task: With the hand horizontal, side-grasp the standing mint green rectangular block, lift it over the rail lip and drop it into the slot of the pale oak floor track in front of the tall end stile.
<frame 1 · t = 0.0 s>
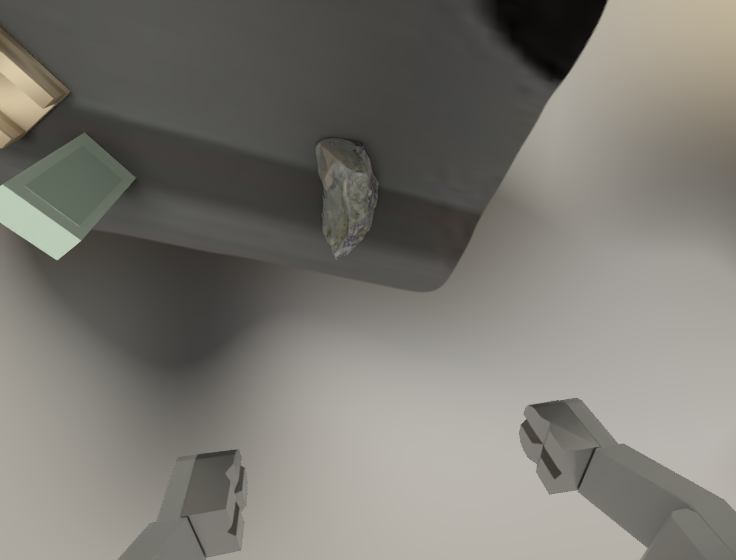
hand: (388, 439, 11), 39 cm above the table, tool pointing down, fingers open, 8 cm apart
mint green rectangular block: (101, 164, 41), on the table
mineral rock: (338, 190, 48), on the table
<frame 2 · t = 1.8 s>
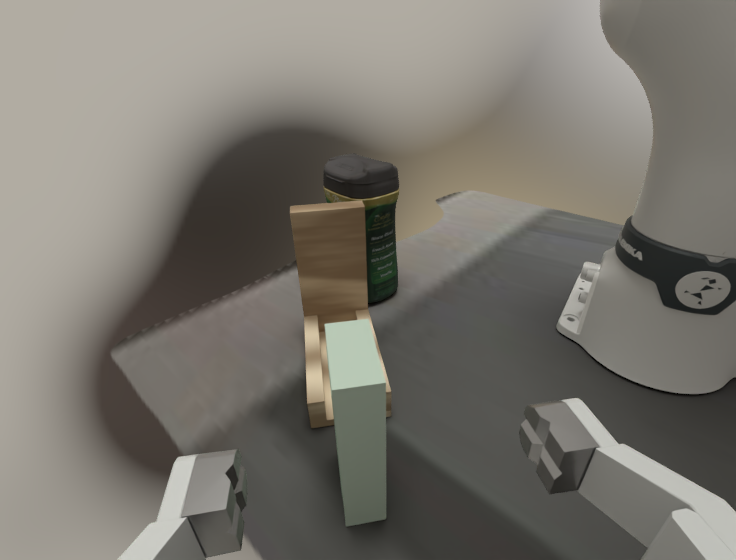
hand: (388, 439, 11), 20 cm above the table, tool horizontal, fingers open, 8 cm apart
mint green rectangular block: (360, 484, 31), on the table
track: (344, 376, 41), on the table
coffee jar: (364, 288, 56), on the table
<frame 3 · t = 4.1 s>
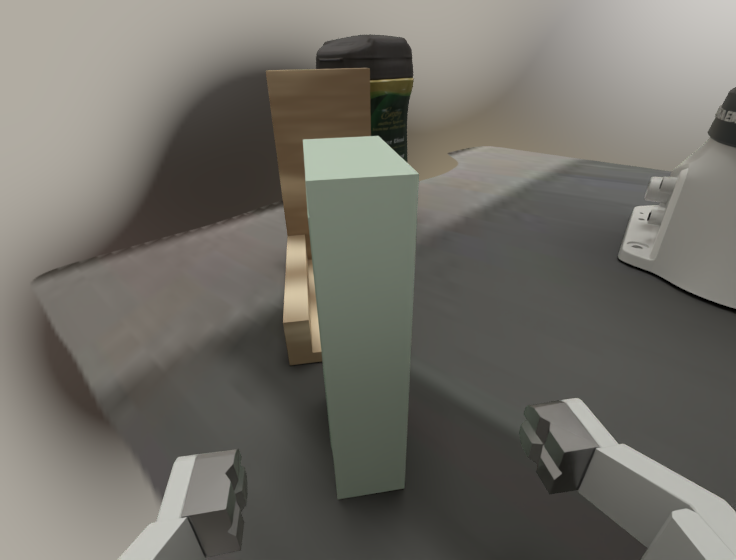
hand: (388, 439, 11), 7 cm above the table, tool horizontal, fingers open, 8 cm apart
mint green rectangular block: (361, 437, 20), on the table
track: (340, 306, 30), on the table
coffee jar: (367, 224, 45), on the table
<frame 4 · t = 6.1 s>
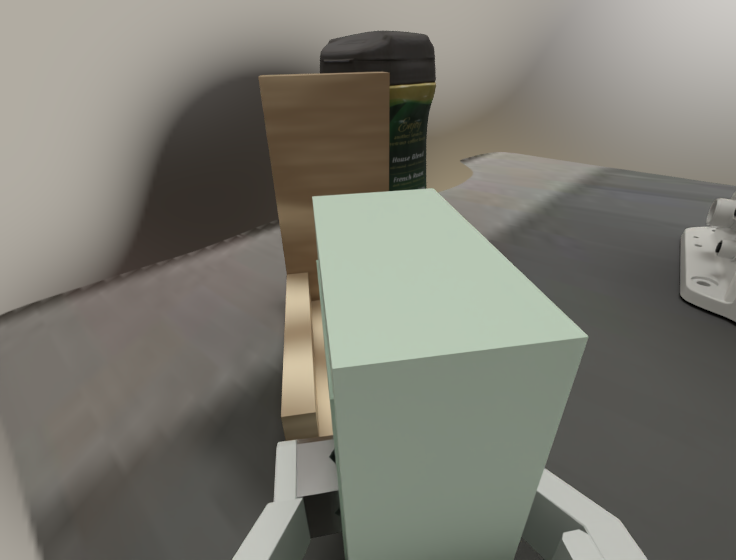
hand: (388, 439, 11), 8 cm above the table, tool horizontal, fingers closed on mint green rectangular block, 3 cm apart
track: (352, 368, 24), on the table
coffee jar: (378, 248, 40), on the table
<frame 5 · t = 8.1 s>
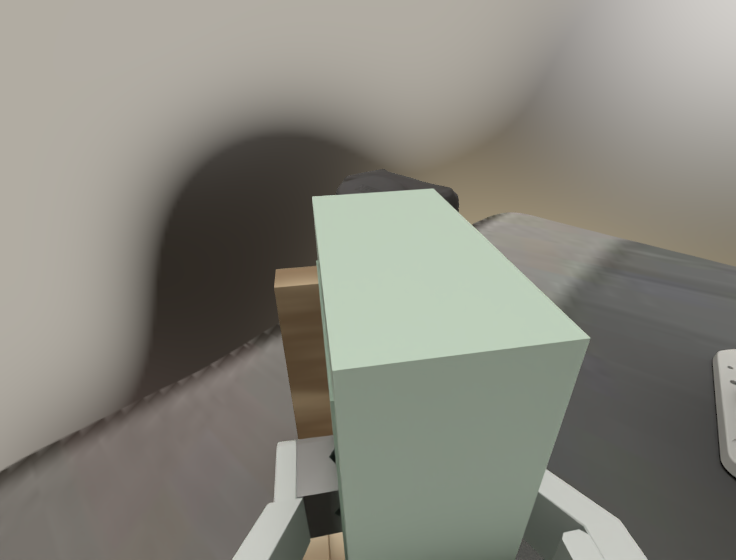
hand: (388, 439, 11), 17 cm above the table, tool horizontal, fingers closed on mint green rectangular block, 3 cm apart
coffee jar: (392, 369, 38), on the table
when the fingers open (10 cm above the table, at t = 10.5 s): mint green rectangular block drops 1 cm, resting on track.
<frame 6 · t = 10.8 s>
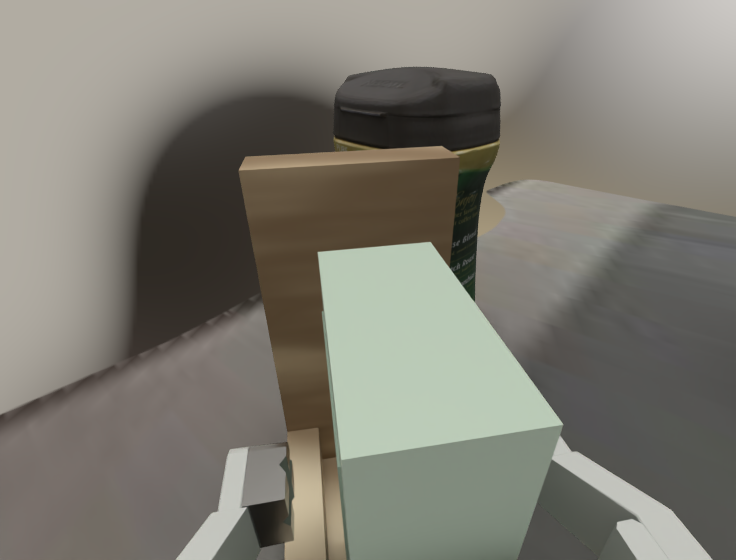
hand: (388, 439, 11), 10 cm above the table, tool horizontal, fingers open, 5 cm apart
coffee jar: (406, 339, 30), on the table
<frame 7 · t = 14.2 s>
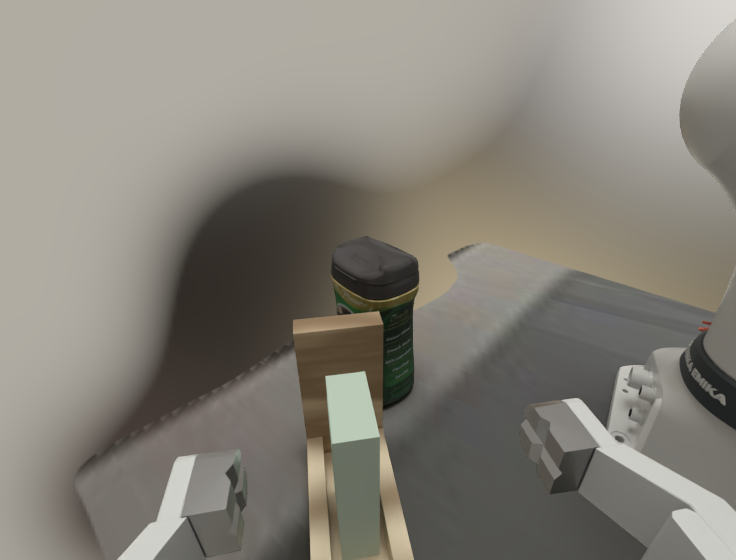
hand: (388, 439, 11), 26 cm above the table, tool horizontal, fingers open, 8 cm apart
mint green rectangular block: (355, 520, 33), point 1 cm above the table, touching track
track: (355, 524, 34), on the table
coffee jar: (375, 381, 49), on the table
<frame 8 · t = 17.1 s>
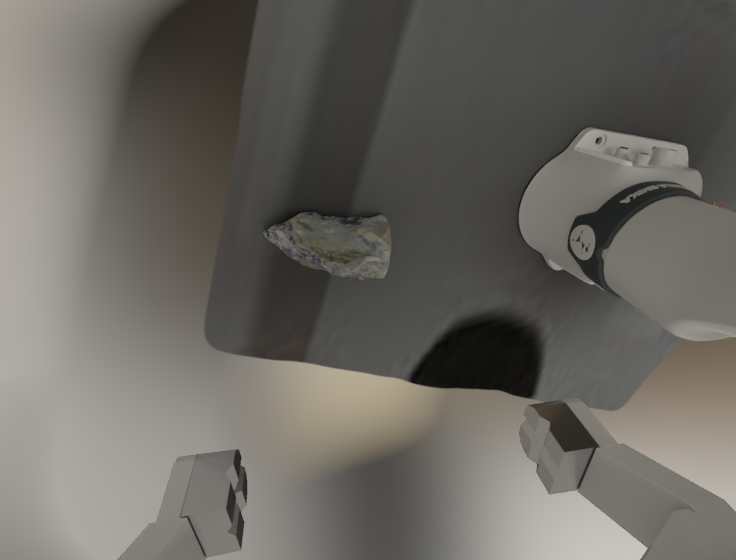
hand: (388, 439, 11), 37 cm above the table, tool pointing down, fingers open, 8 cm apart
mineral rock: (330, 226, 47), on the table
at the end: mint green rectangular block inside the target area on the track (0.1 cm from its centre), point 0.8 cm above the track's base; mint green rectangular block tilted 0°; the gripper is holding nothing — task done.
